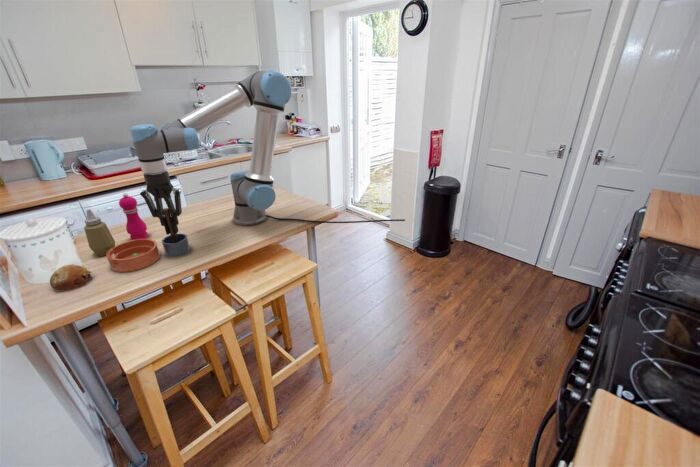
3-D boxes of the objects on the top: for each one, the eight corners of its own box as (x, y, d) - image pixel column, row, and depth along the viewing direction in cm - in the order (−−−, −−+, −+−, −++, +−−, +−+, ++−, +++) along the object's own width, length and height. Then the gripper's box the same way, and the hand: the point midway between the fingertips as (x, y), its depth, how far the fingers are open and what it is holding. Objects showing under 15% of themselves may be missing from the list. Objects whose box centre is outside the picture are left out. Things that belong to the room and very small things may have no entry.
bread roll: (77, 282, 112) (59, 266, 108) (101, 271, 110) (82, 253, 107) (57, 300, 103) (35, 283, 99) (82, 288, 102) (61, 270, 98)
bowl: (166, 249, 126) (163, 237, 123) (150, 271, 112) (146, 258, 109) (124, 252, 124) (119, 240, 121) (102, 275, 110) (97, 261, 107)
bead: (136, 259, 118) (143, 255, 119) (134, 264, 116) (141, 260, 116) (129, 254, 117) (137, 250, 117) (128, 258, 114) (135, 254, 114)
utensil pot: (193, 245, 128) (189, 232, 126) (186, 257, 121) (182, 243, 118) (170, 247, 127) (166, 234, 124) (162, 258, 119) (158, 244, 117)
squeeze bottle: (99, 259, 119) (80, 216, 110) (89, 254, 123) (70, 211, 114) (122, 250, 125) (106, 208, 117) (112, 245, 129) (95, 204, 120)
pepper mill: (140, 242, 131) (125, 197, 122) (125, 241, 132) (109, 195, 123) (153, 234, 137) (139, 191, 128) (139, 233, 138) (124, 189, 129)
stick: (180, 245, 124) (169, 208, 116) (178, 247, 122) (167, 210, 115) (175, 245, 124) (164, 208, 116) (173, 247, 122) (161, 210, 114)
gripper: (181, 168, 114) (196, 227, 124) (136, 169, 112) (155, 229, 122) (174, 174, 107) (190, 235, 118) (126, 176, 105) (147, 238, 116)
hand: (172, 232), depth 120 cm, fingers closed on stick, 2 cm apart
